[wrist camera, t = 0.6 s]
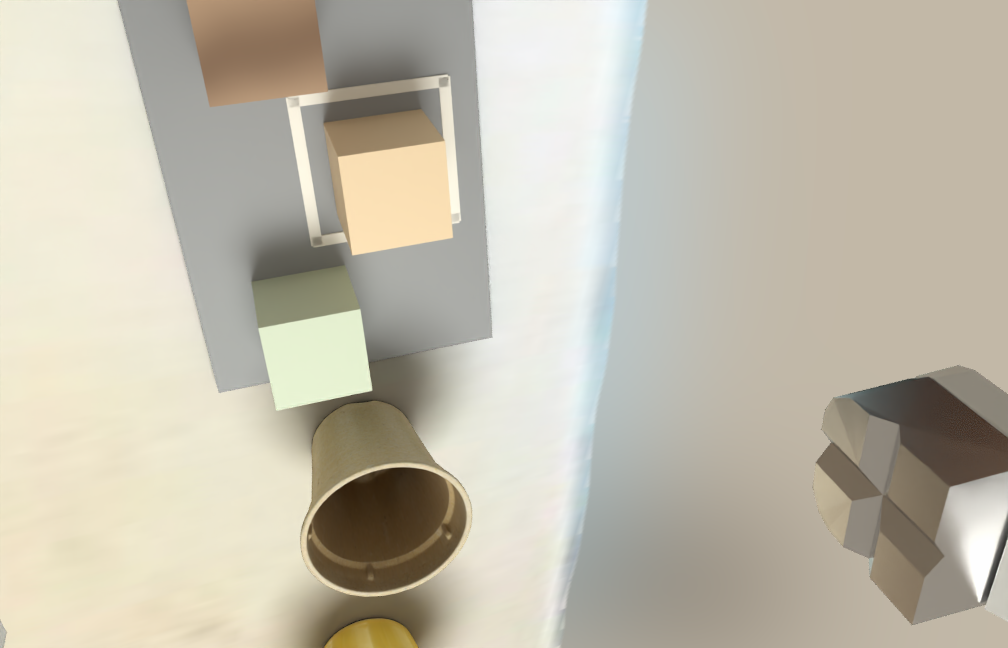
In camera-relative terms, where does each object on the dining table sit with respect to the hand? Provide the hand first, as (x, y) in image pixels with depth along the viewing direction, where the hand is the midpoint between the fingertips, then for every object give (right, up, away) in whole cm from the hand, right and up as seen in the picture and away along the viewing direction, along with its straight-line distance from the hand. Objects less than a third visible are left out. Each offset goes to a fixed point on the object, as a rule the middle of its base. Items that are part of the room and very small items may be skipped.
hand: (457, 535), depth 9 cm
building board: (-9, +10, +38) cm, 41 cm away
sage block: (-10, +3, +41) cm, 43 cm away
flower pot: (-8, -5, +48) cm, 49 cm away
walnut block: (-11, +16, +33) cm, 38 cm away
